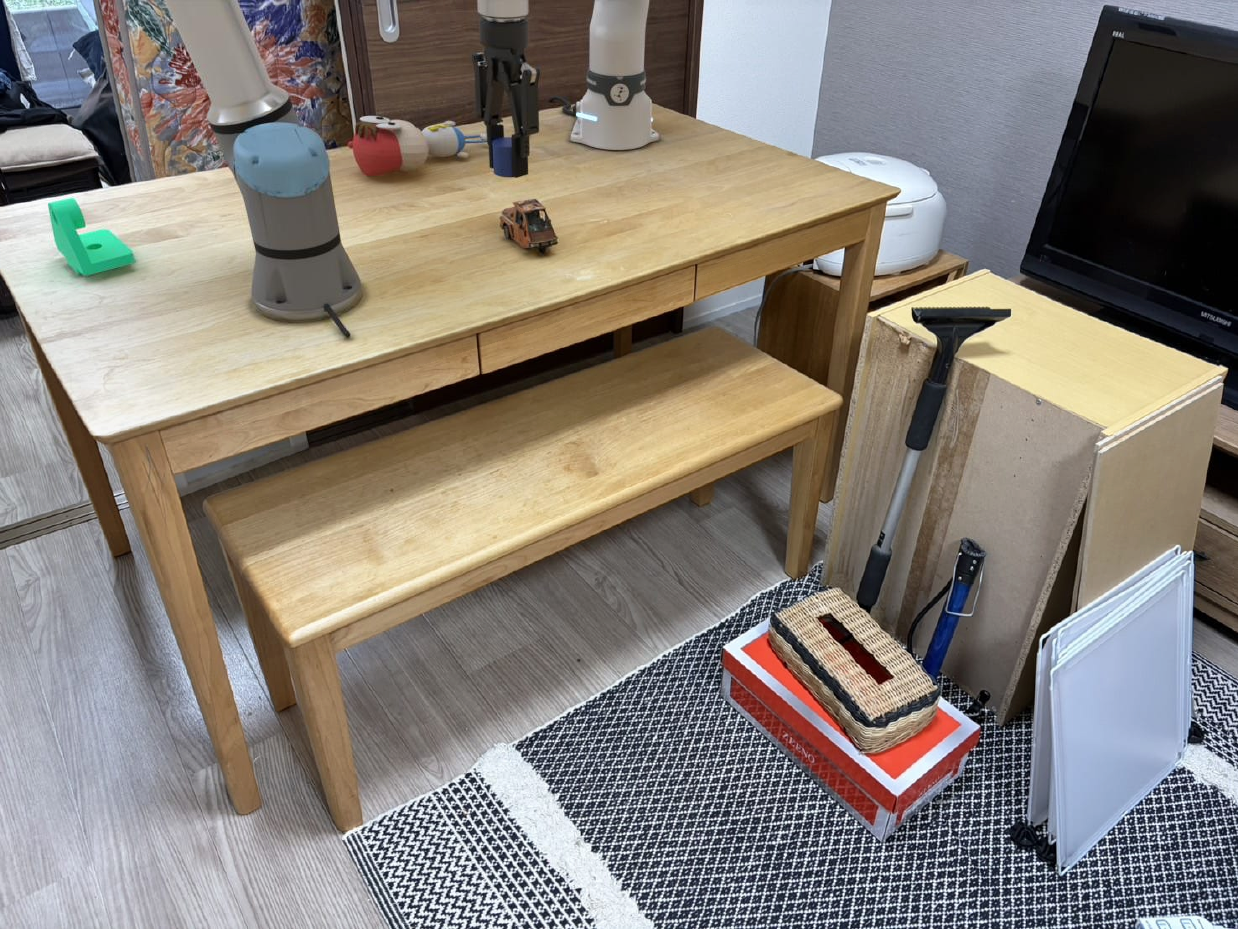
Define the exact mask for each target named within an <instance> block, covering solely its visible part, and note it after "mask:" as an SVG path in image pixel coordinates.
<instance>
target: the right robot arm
mask: <svg viewBox="0 0 1238 929" xmlns="http://www.w3.org/2000/svg"><path fill="white" fill-rule="evenodd" d="M649 7H650V0H594V3H593V11H592V16H591V20H590V24H589V61H588V62H589V66H588V68H587V74H586V88H587V90H586V92H585V94H584V95H583V96H582V99H580V100H579V101H576V102H575V103H574V105H573V106H572V103H571V102H570V101H569V100H567V99H566V98H565V97H562V96H560V95H552V96H550V97H549V98H548V100H547V102H549V103H552V102H553V101H559V102H561V103H563V104H564V105H563V106H562V108H561V110H562V111H561V112H563V113H565V114H566V115H568V116H572V117H574V116H575V117H576V119H575V123H574V126H573V128H572V132H571V133H570V141H571V142H573V143H578V144H583V145H586V146H589V147H592V148H596V149H601V150H608V151H609V150H610V151H627V150H634V149H638V148H642V147H644V146H646V145H647V144H649V143H653V142H657V141H659V140H660V134H659V133H658V132H657V131H656V130H654V128H652V126H653V125H652V124H653V123H652V122H653V120H654V119H653V116H652V115H653V114H652V112H653V109H652V107H653V103H652V102H653V101H652V99H651V98H650V97H649V95H648V94H647V93H646V92H645V89H646V82H647V76H646V74H647V73H646V72H647V71H646V70H645V47H646V46H645V45H646V29H647V28H646V27H647V19H648V14H649V13H648V12H649ZM571 107H572V110H570V108H571Z"/></svg>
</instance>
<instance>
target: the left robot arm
mask: <svg viewBox="0 0 1238 929" xmlns="http://www.w3.org/2000/svg"><path fill="white" fill-rule="evenodd" d="M163 1H164V3H165V6H166V8H167V10H168V12H169V15H170V16H171V19H172V20H173V23H174V25H175V27H176V30H177V31H178V34H179V36H180V39H181V40H182V42H183V44H184V46H185V48H186V51H187V53H188V55H189V57H190V59H191V61H192V64H193V66H194V68H195V70H196V72H197V74H198V77H199V79H200V81H201V83H202V85H203V87H204V90H205V91H206V93H207V96H208V98H209V101H210V107H209V109H208V111H207V113H206V119H207V122H208V125H209V126H210V128H211V130H212V132H213V135H214V137H215V139H216V141H217V143H218V146H219V147H220V149H221V152H222V156H223V158H224V160H225V162H226V164H227V166H228V168H229V170H230V172H231V173H232V175H233V178H234V179H235V181H236V184H237V186H238V189H239V191H240V193H241V195H242V200H243V202H244V206H245V211H246V215H247V219H248V220H247V221H248V223H249V228H250V233H251V237H252V242H253V247H254V251H255V258H254V264H253V273H252V283H251V291H250V293H251V299H252V303H253V307H254V309H255V310H256V311H257V313H259V314H260V315H262V316H264V317H266V318H268V319H271V320H275V321H281V322H289V323H304V322H314V321H315V322H316V321H320V320H326V319H330V318H331V320H332V321H333V322H334V324H335V326H336V327H337V328H338V330H339V331H340V332H341V333H342V335H343V336H344V337H345V338H347V339H349V338H350V337H351V336H352V334H351V333H350V332H349V330H348V329H347V328H346V326H345V325H344V323H343V322H342V321H341V319H340V318H339V316H338V315H341V314H343V313H345V312H348V311H349V310H351V309H353V308H354V307H355V306H356V305H357V304H358V303H359V302H360V301H361V298H362V297H363V287H362V282H361V278H360V276H359V274H358V272H357V270H356V268H355V266H354V264H353V263H352V261H351V259H350V257H349V255H348V253H347V251H346V250H345V248H344V245H343V243H342V239H341V233H340V225H339V220H338V214H337V209H336V203H335V196H334V191H333V185H332V177H331V167H330V166H331V165H330V163H331V162H330V158H329V154H328V152H327V149H326V146H325V142H324V140H323V139H322V137H321V136H320V135H319V133H317V132H316V131H315V130H313V129H311V128H309V127H307V126H302V125H301V122H300V120H299V117H298V115H297V112H296V110H295V108H294V105H293V103H292V101H291V97H290V96H289V93H288V91H287V90H285V89H284V88H282V87H279V86H277V85H275V84H274V83H273V82H272V80H271V78H270V75H269V73H268V71H267V68H266V66H265V63H264V61H263V59H262V56H261V54H260V52H259V49H258V47H257V45H256V44H257V43H256V42H255V39H254V37H253V35H252V32H251V30H250V27H249V26H248V23H247V20H246V18H245V15H244V13H243V11H242V7H241V6H240V3H239V1H238V0H163ZM476 2H477V13H478V14H479V15H480V17H479V18H478V40H479V43H480V44H481V45H482V46H483V47H484V48H483V52H477V53H476V52H475V53H472V54H471V61H472V65H473V69H474V90H475V91H474V92H475V114H476V115H475V116H476V119H478V120H482V121H483V124H484V126H485V128H486V129H485V130H486V134H487V142H486V143H487V145H488V164H489V168H490V169H493V145H492V142H493V140H495V139H497V138H503V137H505V127H504V126H505V125H504V124H501V123H503V122H504V119H503V118H501V117H502V109H503V103H504V102H503V101H504V96H505V95H504V93H505V92H506V93H507V98H508V103H509V109H510V114H511V119H512V120H511V121H512V125H513V129H514V133H512V134H511V139H512V171H513V177H512V178H514V179H518V178H521V177H524V176H528V175H529V157H530V153H531V151H530V150H531V149H530V137H531V135H532V136H533V135H535V134H539V132H540V115H539V113H540V112H539V111H540V110H539V81H540V76H541V69H540V68H539V67H538V66H537V67H533V66H531V65H530V64H529V63H528V59H527V55H526V48H527V46H528V45H529V44H530V20H529V19H528V17H526V16H528V14H529V11H530V10H529V0H477V1H476ZM493 170H494V169H493Z"/></svg>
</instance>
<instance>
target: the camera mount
mask: <svg viewBox="0 0 1238 929" xmlns="http://www.w3.org/2000/svg"><path fill="white" fill-rule="evenodd" d="M47 206H48V213H49V217H50V218H49V219H50V223H51V227H52V234H53V239H54V242H55V245H56V248H57V250H58V252H60V253H61V254H62V255H63V257H64V258H65V259H66V262H67V265H68V266H69V267H70V268H71V269H72V270H73V271H74V272H75V273H76V274H77V275H78V276H79V275H82V276H83V277H87V276H91V275H95V274H98V273H102V272H106V271H110V270H114V269H117V268H118V269H119V268H121V267H126V266H130V265H133V264H134V263H135V262H136V258H135V256H134V252H133V250H132V249H131V248H130V247H128V245H126V244H125V243H124V242H123V241H122V240H121V239H120V238H118V237H117V236H116V235H115V234H114V233H113V232H112V231H110V229H106V228H104V229H103V228H102V229H97V230H94V231H89V232H85V233H84V232H83V233H81V234H79V233H78V231H77V230H81V229H84V228H85V229H86V226H87V225H86V221H85V216H84V214H83V212H82V210H81V207H80V205H79V204H78V202H77V200H76V199H75V198H74V197H70V198H65V199H61V200H56V201H51V202H48V203H47Z"/></svg>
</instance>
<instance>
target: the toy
mask: <svg viewBox="0 0 1238 929" xmlns="http://www.w3.org/2000/svg"><path fill="white" fill-rule="evenodd" d="M359 120H360V121H359V122H358V121H357V122H356V124H355V126H354V132H355V133H354V134H353V138H352V140H350V141H349V142H348V143H347V147H348V148H349V149H350V150H351V149H352V154H353V157H354V160H355V163H356V164H357V167H358V168H359V170H360V172H361V173H362V174H363V175H365V176H367V177H378V176H383V175H387V174H390V173H394V172H396V171H401V172H411V171H415V170H418V169H419V168H421V167H422V166H423V165H424V163H425V162H426V160H427V159H428V155H429V156H432V157H436V158H437V157H438V158H446V157H452V156H454V155H456V156H457V157H458V158H459V159H460V158H461V159H465V158H468V157H469V155H470V154H469V153H468V152H466V151H463V150H464V148H465V147H466V144H483V143H487V132H486V133H485V132H480V133H479V134H475V135H464V133H463V132H462V130H460V129H458V128H457V127H455V126H456V122H455V121H454V120H453V121H452V120H446V121H444V122H440V123H436V124H432V125H429V126H426V127H425V128H424V129H422V130H421V129H419V128H418V127H417V125H416V124H414V123H412V122H410V121H407V120H404V119H401V118H400V119H390V118H387V117H385V116H379V115H365V116H361V117H360V118H359ZM478 138H479V140H467V139H478Z"/></svg>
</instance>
